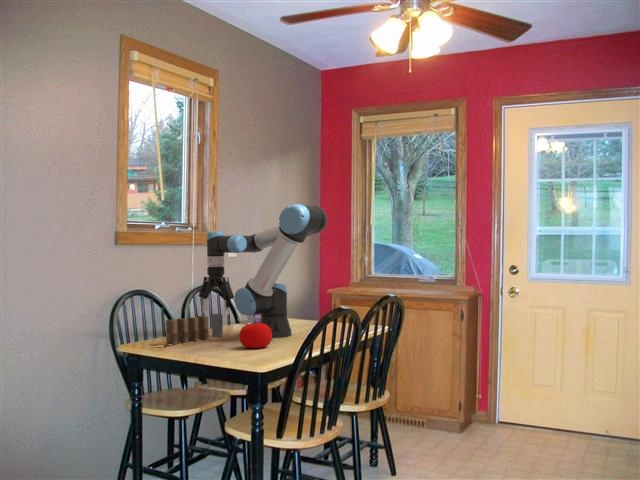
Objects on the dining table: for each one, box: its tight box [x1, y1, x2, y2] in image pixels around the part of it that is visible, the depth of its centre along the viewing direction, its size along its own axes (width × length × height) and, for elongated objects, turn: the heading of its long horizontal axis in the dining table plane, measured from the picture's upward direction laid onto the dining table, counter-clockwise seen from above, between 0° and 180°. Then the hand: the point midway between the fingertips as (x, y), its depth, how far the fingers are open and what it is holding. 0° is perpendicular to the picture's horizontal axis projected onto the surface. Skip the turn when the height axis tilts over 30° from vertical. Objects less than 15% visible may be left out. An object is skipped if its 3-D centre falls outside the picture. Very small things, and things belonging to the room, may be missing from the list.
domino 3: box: [186, 316, 200, 343], centre depth 266 cm, size 5×2×10 cm, turn 51°
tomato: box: [238, 321, 273, 349], centre depth 243 cm, size 11×13×10 cm
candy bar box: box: [246, 314, 261, 324], centre depth 326 cm, size 11×5×16 cm, turn 148°
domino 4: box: [196, 315, 210, 341], centre depth 271 cm, size 5×2×10 cm, turn 51°
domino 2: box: [176, 318, 189, 344], centre depth 262 cm, size 5×2×10 cm, turn 51°
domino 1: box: [165, 319, 179, 346], centre depth 258 cm, size 5×2×10 cm, turn 51°
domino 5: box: [211, 313, 224, 338], centre depth 280 cm, size 5×2×10 cm, turn 51°
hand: (216, 314), depth 280 cm, fingers open, 13 cm apart
